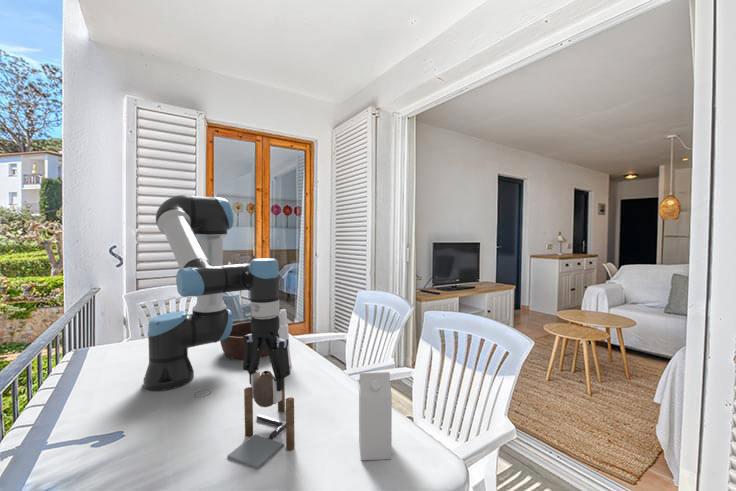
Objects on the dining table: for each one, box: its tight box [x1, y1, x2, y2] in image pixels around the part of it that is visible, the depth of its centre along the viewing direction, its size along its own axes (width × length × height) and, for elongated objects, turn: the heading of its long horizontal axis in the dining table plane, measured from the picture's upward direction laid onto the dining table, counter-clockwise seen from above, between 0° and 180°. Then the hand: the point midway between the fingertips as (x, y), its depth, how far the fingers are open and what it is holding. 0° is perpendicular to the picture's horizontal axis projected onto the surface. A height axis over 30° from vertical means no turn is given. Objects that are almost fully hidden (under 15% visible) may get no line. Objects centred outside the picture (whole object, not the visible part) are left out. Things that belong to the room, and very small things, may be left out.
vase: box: [253, 370, 275, 408], centre depth 93 cm, size 7×7×9 cm
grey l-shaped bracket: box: [256, 414, 286, 440], centre depth 90 cm, size 10×6×1 cm, turn 66°
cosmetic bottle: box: [278, 308, 293, 368], centre depth 132 cm, size 6×6×22 cm
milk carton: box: [358, 371, 393, 461], centre depth 81 cm, size 7×7×19 cm
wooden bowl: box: [219, 320, 278, 361], centre depth 148 cm, size 25×25×10 cm
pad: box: [226, 434, 284, 470], centre depth 81 cm, size 9×9×1 cm
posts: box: [243, 373, 296, 452], centre depth 91 cm, size 15×15×12 cm
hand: (266, 398), depth 93 cm, fingers closed on vase, 7 cm apart
